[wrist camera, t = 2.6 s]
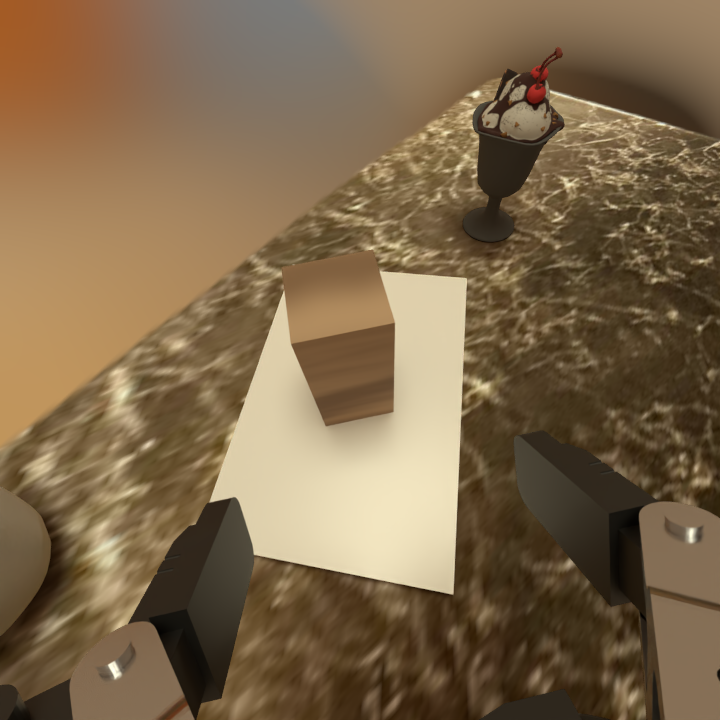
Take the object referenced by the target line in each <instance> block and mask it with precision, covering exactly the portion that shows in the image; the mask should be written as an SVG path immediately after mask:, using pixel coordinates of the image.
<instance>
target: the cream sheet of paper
mask: <svg viewBox="0 0 720 720" xmlns="http://www.w3.org/2000/svg"><path fill="white" fill-rule="evenodd" d="M380 275H381V278H382V281H383V285H384V288H385V291H386V294H387V298H388V301H389V304H390V308H391V311H392V314H393V317H394V321H395V358H394V412H391V413H387V414H382V415H377V416H373V417H368V418H363V419H358V420H354V421H349V422H344V423H340V424H335V425H330V426H325V423H324V421H323V419H322V416H321V414H320V412H319V409H318V407H317V404H316V402H315V400H314V397H313V395H312V393H311V390H310V388H309V386H308V383H307V381H306V379H305V376H304V374H303V372H302V369H301V367H300V364H299V362H298V360H297V357H296V355H295V353H294V350H293V348H292V346H291V342H290V333H289V325H288V317H287V309H286V300H285V292H283V295H282V298H281V300H280V303H279V306H278V309H277V312H276V315H275V317H274V320H273V323H272V326H271V329H270V332H269V335H268V337H267V340H266V343H265V346H264V349H263V352H262V354H261V357H260V360H259V363H258V366H257V369H256V372H255V374H254V377H253V380H252V383H251V386H250V389H249V391H248V394H247V397H246V400H245V403H244V406H243V409H242V411H241V414H240V417H239V420H238V423H237V426H236V428H235V431H234V434H233V437H232V440H231V443H230V446H229V448H228V451H227V454H226V457H225V460H224V463H223V465H222V468H221V471H220V474H219V477H218V480H217V483H216V485H215V488H214V491H213V494H212V497H211V500H210V502H214V501H219V500H223V499H228V498H232V497H236V498H237V499H238V501H239V503H240V506H241V509H242V512H243V516H244V519H245V522H246V525H247V528H248V532H249V535H250V538H251V541H252V545H253V551H254V555H258V556H263V557H268V558H273V559H278V560H283V561H288V562H293V563H298V564H303V565H308V566H313V567H318V568H323V569H328V570H333V571H338V572H343V573H348V574H353V575H358V576H363V577H368V578H373V579H378V580H383V581H388V582H393V583H398V584H403V585H408V586H413V587H418V588H423V589H428V590H433V591H438V592H443V593H448V594H453V592H454V569H455V545H456V521H457V498H458V474H459V451H460V427H461V404H462V380H463V357H464V333H465V310H466V286H467V278H457V277H444V276H432V275H419V274H406V273H394V272H381V271H380ZM210 502H209V503H210Z"/></svg>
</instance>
